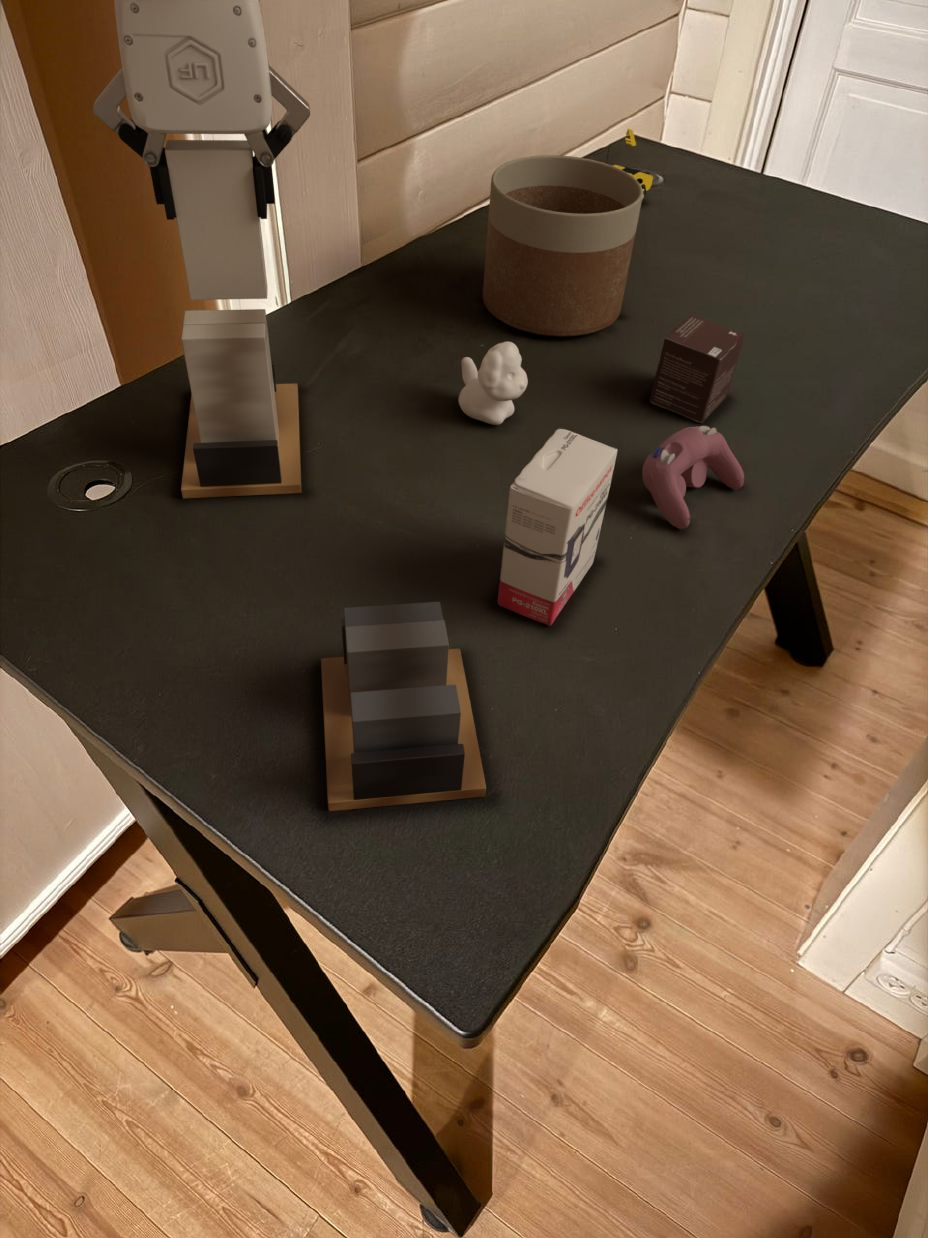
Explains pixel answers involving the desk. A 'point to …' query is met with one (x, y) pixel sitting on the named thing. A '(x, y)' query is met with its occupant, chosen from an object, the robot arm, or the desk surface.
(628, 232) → the planter
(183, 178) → the white book
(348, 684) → the grey shelf
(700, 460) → the video game controller
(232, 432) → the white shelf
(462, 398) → the figurine
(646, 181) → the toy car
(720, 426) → the desk surface
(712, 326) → the box
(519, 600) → the ink box
